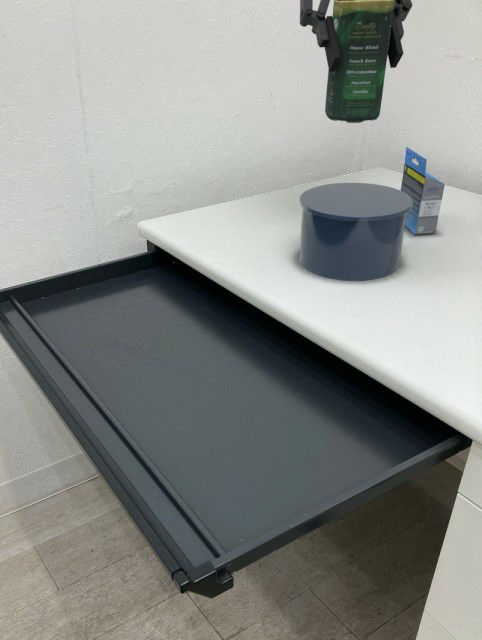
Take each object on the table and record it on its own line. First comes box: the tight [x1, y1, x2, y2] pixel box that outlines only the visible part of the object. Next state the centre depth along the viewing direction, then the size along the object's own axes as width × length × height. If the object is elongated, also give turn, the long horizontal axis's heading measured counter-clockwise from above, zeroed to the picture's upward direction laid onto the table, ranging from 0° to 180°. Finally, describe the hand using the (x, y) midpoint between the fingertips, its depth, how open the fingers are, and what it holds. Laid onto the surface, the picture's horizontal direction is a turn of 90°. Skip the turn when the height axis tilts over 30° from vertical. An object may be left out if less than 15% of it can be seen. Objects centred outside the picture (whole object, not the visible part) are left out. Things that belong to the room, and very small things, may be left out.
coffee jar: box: [324, 0, 394, 124], centre depth 83 cm, size 10×8×19 cm
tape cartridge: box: [400, 146, 446, 236], centre depth 99 cm, size 9×4×12 cm, turn 5°
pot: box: [298, 182, 413, 282], centre depth 89 cm, size 16×16×10 cm
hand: (366, 62), depth 81 cm, fingers closed on coffee jar, 8 cm apart
